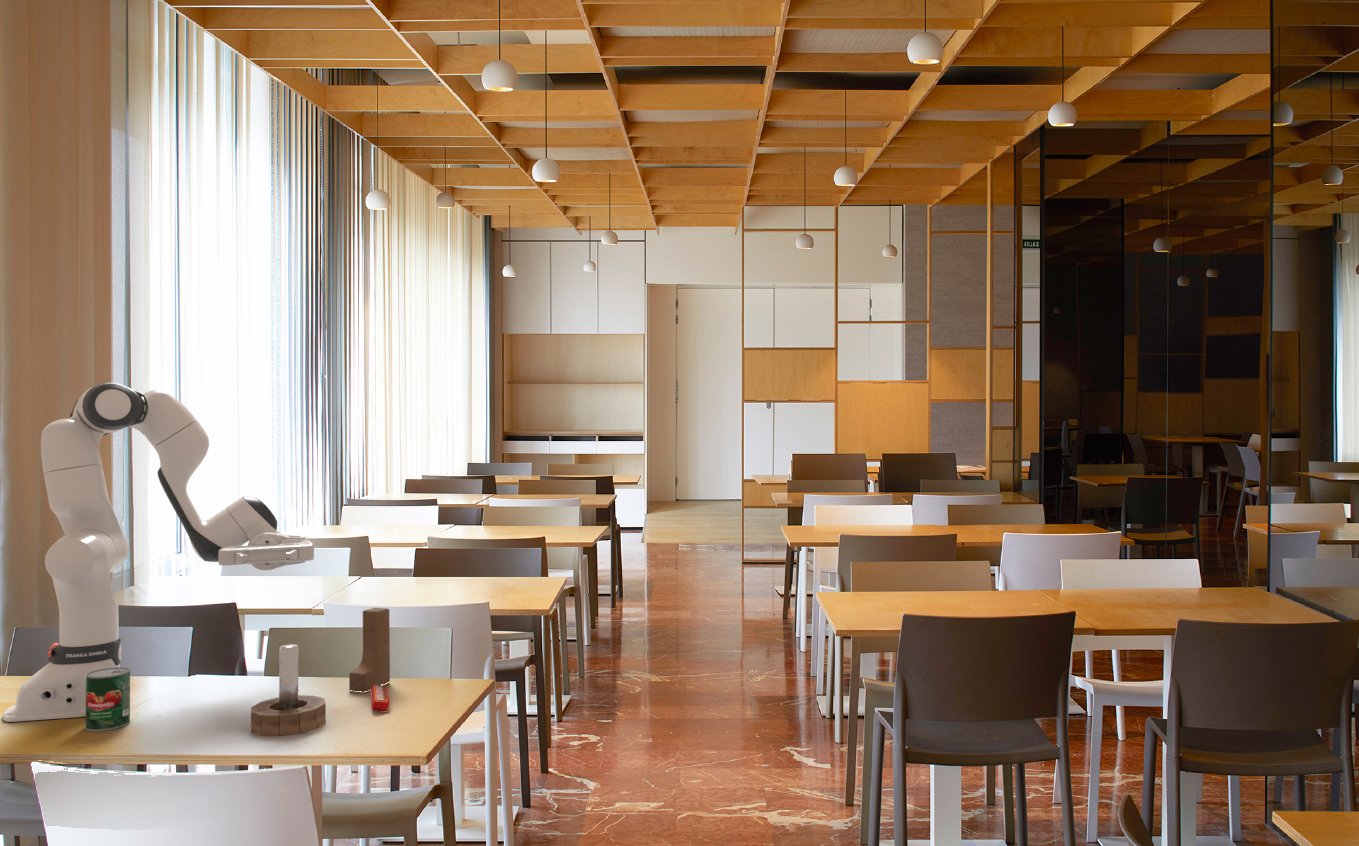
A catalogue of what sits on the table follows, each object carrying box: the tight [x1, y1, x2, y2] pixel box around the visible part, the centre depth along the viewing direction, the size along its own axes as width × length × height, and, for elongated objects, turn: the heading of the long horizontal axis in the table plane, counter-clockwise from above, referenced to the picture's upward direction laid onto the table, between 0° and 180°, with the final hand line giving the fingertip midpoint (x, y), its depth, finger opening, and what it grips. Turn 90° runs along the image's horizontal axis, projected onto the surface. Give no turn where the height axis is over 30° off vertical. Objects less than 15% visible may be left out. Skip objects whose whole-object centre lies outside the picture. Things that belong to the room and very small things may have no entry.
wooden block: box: [348, 607, 391, 692], centre depth 217 cm, size 9×4×18 cm, turn 157°
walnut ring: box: [250, 694, 327, 737], centre depth 189 cm, size 14×14×4 cm
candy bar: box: [370, 685, 390, 712], centre depth 204 cm, size 16×4×3 cm, turn 20°
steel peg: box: [278, 644, 299, 710], centre depth 189 cm, size 4×4×16 cm
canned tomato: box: [84, 666, 131, 732], centre depth 190 cm, size 8×8×11 cm
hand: (267, 557), depth 207 cm, fingers open, 8 cm apart
